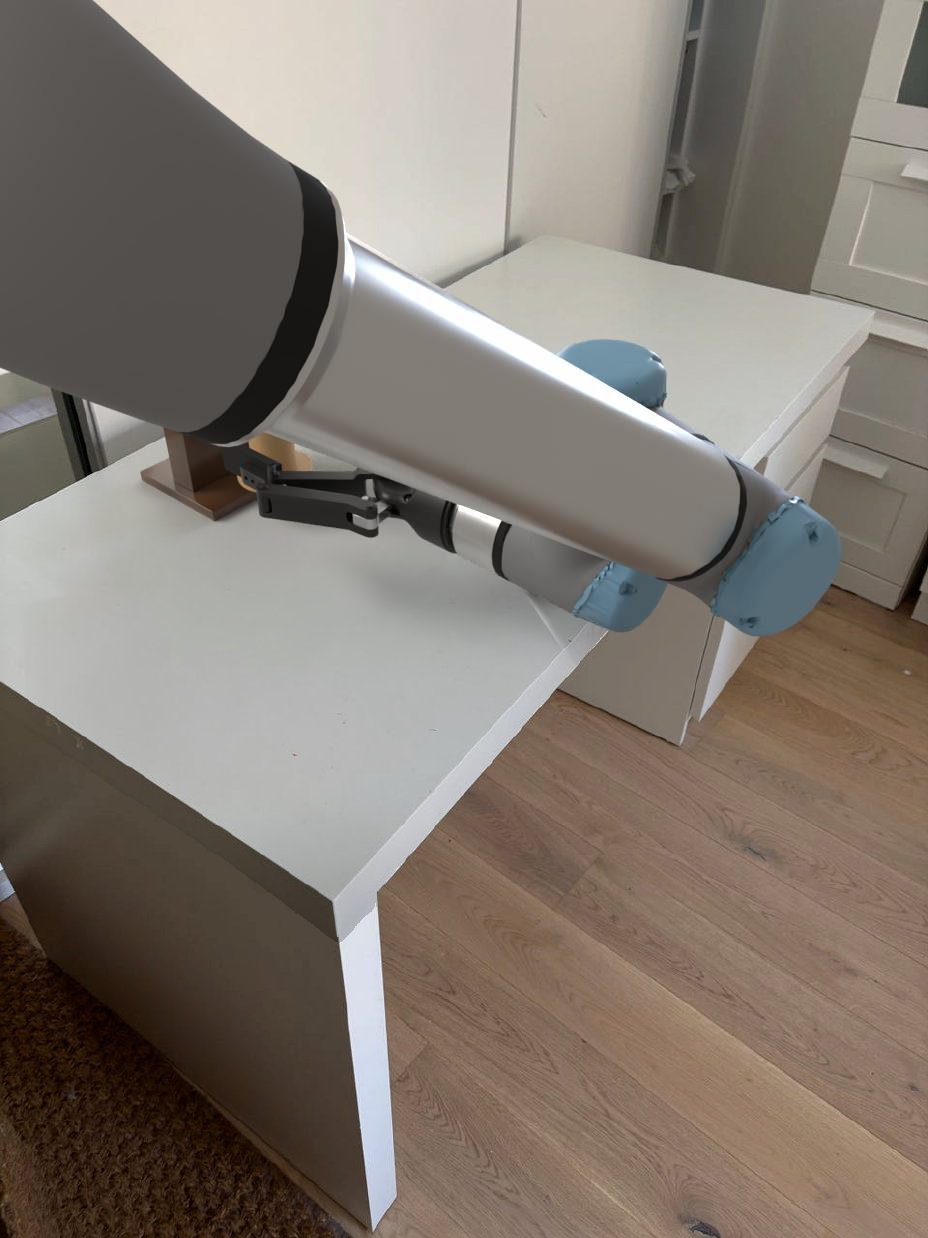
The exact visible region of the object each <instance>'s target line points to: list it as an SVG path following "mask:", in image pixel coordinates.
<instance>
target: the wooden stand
mask: <svg viewBox="0 0 928 1238" xmlns="http://www.w3.org/2000/svg"><path fill="white" fill-rule="evenodd" d="M162 429H163V433H164V439H165V444H166V448H167V453H168V458H166V459H164V460H162V461H160V462H157V463H155V464H153V465H152V466H148V467H147V468H145V469H142V470H140V472H139V473H140V478H141V481H143V482H144V483H147V484H148V485H150V486H152V487H153V488H156V489H157V490H159V491H160V492H162V493H164V494H166V495H167V496H169V497H171V498H173V499H175V500H177V501H178V502H180V503H182V504H183V505H185V506H187V507H188V508H191V509H192V510H194V511H195V512H198V513H199V514H201V515H203V516H204V517H206V518H208V519H210V520H212V521H213V522H215V521H217V520H219V519H220V518H222V517H224V516H227V515H228V514H231V513H232V512H234V511H236V510H237V509H239V508H241V507H243V506H245V505H247V504H249V503H251V502H252V501H254V500H257V493H256V492H252V491H250V490H247V489H246V488H244V487H243V486H241V484H240V483H239V481H238V478H237V475H236V474H234V473H232V472H230V471H228V470H226V469H225V466H224V460H223V454H222V447H221V446H217V445H214V444H210V443H207V442H205V441H202V440H199V439H196V438H193V437H191V436H188V435H185V434H182V433H179V432H176V431H173V430H171V429H167V428H164V427H162ZM243 445H245V446H247V447H249V441H248V442H246V443H243Z"/></svg>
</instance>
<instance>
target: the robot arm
mask: <svg viewBox="0 0 928 1238" xmlns="http://www.w3.org/2000/svg"><path fill="white" fill-rule="evenodd" d="M345 225H346V224H345V221H344V216H343V212H342V208H341V205H340V203H339V201H338V198H337V197H336V195H335V194H334V192H333V190H332V189H331V188H330V187H329V186H328V185H327V184H325V183H324V182H323V181H322V180H320V179H319V178H317V177H315V176H314V175H312V174H311V173H309V172H308V171H306V170H304V169H302V168H301V167H299V166H297V165H296V164H295V163H293V162H291V161H289V160H287V159H286V158H284V157H283V156H281V154H279V153H278V152H276V151H274V150H273V149H272V148H270V147H269V146H267V145H266V144H264V143H263V142H261V141H260V140H258V139H256V138H255V137H254V136H253V135H251V134H250V133H248V131H246V130H245V129H244V128H242V127H241V126H240V125H239V124H238V123H236V122H235V121H233V120H232V119H231V118H230V117H228V116H227V115H226V114H225V113H224V112H222V111H221V110H220V109H219V108H218V107H216V106H215V105H213V104H212V103H211V102H210V101H209V100H207V99H206V98H205V97H204V96H203V95H201V94H200V93H198V91H196V90H195V89H194V88H193V87H191V86H190V85H189V84H188V83H187V82H185V81H184V79H182V78H181V77H180V76H179V75H178V74H176V72H175V71H173V70H172V69H171V68H170V67H168V65H166V64H165V63H164V62H163V61H162V60H161V59H160V58H158V56H157V55H155V54H154V53H153V52H152V51H151V50H150V49H148V48H147V47H146V46H145V45H144V44H143V43H141V42H140V41H139V40H138V39H137V38H136V37H135V36H134V35H132V34H131V33H130V32H129V31H128V30H127V29H126V28H125V27H124V26H122V25H121V24H120V23H119V22H118V21H117V20H115V18H113V16H111V15H110V14H109V13H108V12H107V11H106V10H105V9H104V8H102V7H101V6H100V5H99V4H98V3H97V2H96V1H95V0H0V369H2V370H4V371H7V372H9V373H12V374H15V375H17V376H19V377H22V378H24V379H27V380H30V381H31V382H33V383H34V382H35V383H37V384H39V385H42V386H45V387H48V388H51V389H54V390H56V391H58V392H61V393H63V394H66V395H71V396H73V397H76V398H78V399H81V400H84V401H87V402H90V403H93V404H95V405H99V406H101V407H103V408H107V409H110V410H112V411H115V412H118V413H121V414H124V415H126V416H129V417H132V418H134V419H137V420H139V421H143V422H145V423H148V424H152V425H155V426H159V427H162V428H163V427H164V428H167V429H171V430H173V431H176V432H179V433H182V434H185V435H188V436H191V437H193V438H196V439H199V440H202V441H205V442H207V443H210V444H214V445H217V446H221V447H222V454H223V460H224V466H225V469H226V470H228V471H230V472H232V473H234V474H236V475H238V476H240V477H241V478H242V482H243V483H244V484H245V485H247V486H249V487H251V488H253V489H254V490H256V493H257V498H256V500H257V507H258V515H259V516H260V517H261V518H264V519H271V520H277V521H285V522H291V523H299V524H305V525H313V526H318V527H319V526H320V527H326V528H333V529H339V530H346V531H350V532H353V533H355V534H357V535H360V536H362V537H365V538H368V539H373V538H376V537H377V536H379V534H380V531H379V530H380V529H379V525H380V524H382V522H384V521H385V520H386V519H388V518H391V519H397V520H403V521H405V522H406V523H407V524H408V525H409V526H410V528H412V530H413V531H414V532H415V533H416V535H417V536H418V537H419V538H421V539H422V540H424V541H426V542H428V543H430V544H431V545H434V546H436V547H438V548H440V549H442V550H444V551H446V552H448V553H450V554H454V555H455V554H456V555H458V556H459V557H461V558H462V559H463V560H466V561H467V562H470V563H472V564H473V565H476V566H477V567H480V568H481V569H484V570H486V571H488V572H490V573H492V574H494V575H496V576H497V577H500V578H502V579H504V580H505V581H507V582H510V583H512V584H514V585H516V586H518V587H519V588H522V589H523V590H525V591H527V592H530V593H531V594H533V595H534V596H537V597H539V598H541V599H542V600H545V601H546V602H548V603H550V604H552V605H553V606H556V607H557V608H560V609H561V610H563V611H565V612H567V613H569V614H571V616H573V617H574V618H576V619H581V620H583V621H586V622H589V623H591V624H594V625H596V626H598V627H600V628H603V629H605V630H609V631H612V632H615V633H628V632H631V631H633V630H635V629H637V628H638V627H640V625H642V624H643V623H644V622H645V621H646V620H647V619H648V618H649V617H650V616H651V614H653V612H654V610H655V609H656V607H657V606H658V605H659V603H660V601H661V599H662V598H663V595H664V593H665V591H666V589H667V587H668V585H671V586H674V587H676V588H679V589H682V590H684V591H686V592H688V593H690V594H692V595H693V596H694V597H696V598H698V599H699V600H700V601H701V602H703V603H704V605H706V606H707V607H708V608H709V611H710V613H712V614H713V616H715V617H717V618H722V619H723V620H724V621H726V622H727V623H729V624H730V625H731V626H733V627H734V628H735V629H737V630H738V631H739V632H742V633H743V634H745V635H748V636H750V637H760V638H761V637H767V636H772V635H776V634H779V633H781V632H783V631H785V630H788V629H789V628H791V627H792V626H794V625H796V624H797V623H798V622H799V621H801V620H802V619H803V618H805V616H807V615H808V614H809V613H810V612H811V611H812V610H813V609H814V608H815V607H816V606H817V603H818V602H819V601H820V600H821V599H822V597H823V596H824V594H825V593H826V592H827V591H828V590H829V588H830V587H831V585H832V583H833V581H834V579H835V577H836V575H837V573H838V570H839V567H840V564H841V561H842V560H841V559H842V553H843V551H842V549H843V548H842V540H841V536H840V534H839V532H838V529H837V528H836V527H835V526H834V524H833V523H831V522H830V520H828V519H826V518H825V517H824V516H822V515H821V514H819V512H817V511H816V510H814V509H813V508H812V507H810V506H809V505H808V503H807V501H806V500H804V499H803V498H802V497H799V496H798V495H795V496H794V495H793V494H792V493H790V492H788V491H787V490H786V489H785V488H783V487H781V486H779V485H778V484H777V483H775V482H774V481H772V480H771V479H770V478H767V477H766V476H764V475H763V474H762V473H760V472H758V471H757V470H755V469H754V468H753V467H751V466H749V465H748V464H746V463H745V462H743V461H741V460H740V459H738V458H737V457H735V456H734V455H732V454H730V453H729V452H727V451H726V450H724V449H723V448H721V447H720V446H718V445H716V444H715V442H714V441H712V440H710V439H709V438H707V437H706V435H704V434H702V433H700V431H698V430H697V429H694V428H693V427H691V425H689V424H688V423H686V422H684V421H683V420H681V419H680V418H678V417H677V416H675V415H674V414H672V413H671V412H669V411H667V410H666V409H665V408H664V404H665V400H666V399H667V396H668V392H667V374H668V373H667V370H666V368H665V367H664V364H663V361H662V359H661V357H660V356H659V355H658V354H656V353H655V352H654V351H653V350H651V349H649V348H647V347H646V346H642V345H640V344H637V343H634V342H630V341H626V340H621V339H608V338H597V339H588V340H584V341H581V342H575V343H572V344H569V345H567V346H566V347H564V348H562V349H560V350H559V351H558V352H557V353H554V352H551V351H549V350H548V349H546V348H544V347H543V346H541V345H540V344H537V343H536V342H534V341H533V340H531V339H529V338H527V337H526V336H524V335H522V334H520V333H519V332H518V331H516V330H514V329H512V328H510V327H509V326H507V325H505V324H503V323H502V322H500V321H498V320H496V319H495V318H494V317H491V316H490V315H489V314H487V313H485V312H483V311H481V310H480V309H478V308H476V307H474V306H473V305H471V304H469V303H467V302H466V301H465V300H463V299H461V298H459V297H457V296H455V295H454V294H452V293H451V292H449V291H447V290H446V289H444V288H442V287H440V286H439V285H437V284H436V283H434V282H432V281H430V280H429V279H427V278H425V277H423V276H421V274H418V273H416V272H414V271H413V270H412V269H410V268H408V267H406V266H404V265H403V264H401V263H399V262H398V261H396V260H394V259H393V258H391V257H390V256H388V255H386V254H384V253H382V252H380V251H379V250H377V249H375V248H374V247H372V246H370V245H368V244H367V243H366V242H363V241H362V240H360V239H358V238H357V237H355V236H354V235H351V234H350V233H348V232H347V231H346V226H345ZM263 432H265V433H267V434H270V435H273V436H275V437H278V438H281V439H284V440H286V441H289V442H292V443H294V445H297V446H299V447H302V448H305V449H307V450H310V451H314V452H316V453H319V454H322V455H325V456H327V457H329V458H332V459H335V460H337V461H340V462H343V463H346V464H348V465H350V466H354V467H356V469H355V470H352V471H351V470H314V471H282V464H281V463H279V462H277V461H275V460H273V459H271V458H269V457H267V456H265V455H263V454H261V453H259V452H257V451H255V450H253V449H251V448H249V447H247V446H245V445H243V443H246V442H248V441H250V440H252V439H253V438H255V437H257V436H258V435H260V434H262V433H263ZM367 480H368V481H369V480H372V491H373V493H374V496H375V497H372V496H369V495H368V488H367ZM284 484H285V485H287V486H284Z"/></svg>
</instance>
